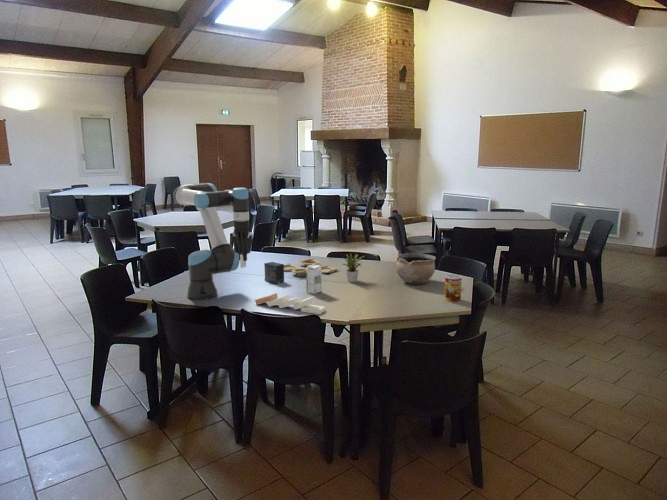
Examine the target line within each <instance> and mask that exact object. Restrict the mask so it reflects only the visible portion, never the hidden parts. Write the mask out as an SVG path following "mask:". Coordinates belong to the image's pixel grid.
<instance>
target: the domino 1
mask: <svg viewBox="0 0 667 500" xmlns="http://www.w3.org/2000/svg"><path fill="white" fill-rule="evenodd" d="M277 298H279V296H278V294H277V293H273V294H268V295H265V296H261V297H258V298H257V299H254V303H255V305H261V304H265V303H267V302H269V301H272V300H274V299H277Z"/></svg>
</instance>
